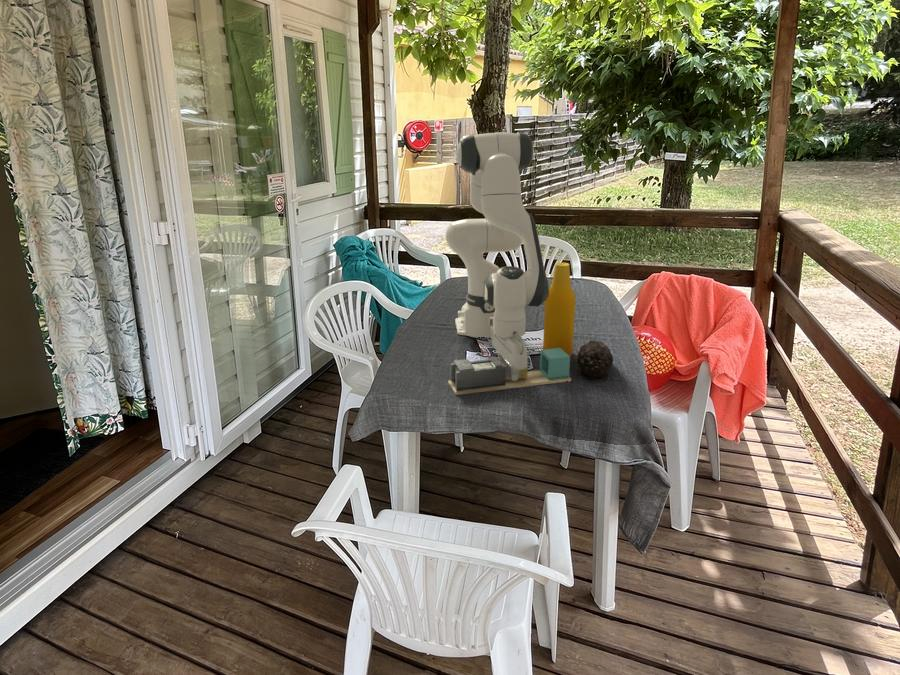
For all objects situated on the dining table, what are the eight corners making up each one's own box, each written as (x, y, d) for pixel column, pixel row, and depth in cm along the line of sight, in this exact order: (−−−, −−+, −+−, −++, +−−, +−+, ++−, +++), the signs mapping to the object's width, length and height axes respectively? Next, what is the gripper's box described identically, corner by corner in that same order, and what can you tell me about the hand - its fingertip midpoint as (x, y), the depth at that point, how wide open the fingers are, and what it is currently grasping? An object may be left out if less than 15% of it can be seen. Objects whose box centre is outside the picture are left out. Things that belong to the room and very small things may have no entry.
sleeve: (450, 381, 178) (450, 360, 176) (497, 375, 181) (497, 355, 179) (456, 391, 172) (456, 370, 170) (505, 385, 175) (505, 364, 173)
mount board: (448, 383, 179) (448, 380, 179) (559, 370, 187) (559, 367, 186) (455, 394, 172) (455, 392, 171) (571, 381, 179) (571, 378, 179)
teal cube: (539, 373, 185) (540, 349, 182) (558, 371, 186) (559, 347, 183) (549, 382, 178) (550, 358, 176) (568, 380, 180) (570, 356, 177)
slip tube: (454, 379, 177) (454, 365, 175) (522, 371, 181) (522, 358, 180) (458, 385, 173) (458, 371, 172) (527, 377, 178) (527, 363, 176)
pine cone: (607, 360, 194) (609, 329, 190) (613, 384, 177) (616, 351, 174) (572, 358, 195) (574, 328, 192) (576, 382, 179) (578, 349, 175)
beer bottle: (545, 360, 194) (549, 268, 184) (540, 349, 203) (544, 260, 193) (575, 359, 194) (581, 267, 184) (569, 348, 203) (574, 260, 193)
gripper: (534, 338, 164) (532, 386, 169) (508, 314, 183) (507, 358, 188) (511, 340, 163) (509, 389, 168) (487, 316, 182) (486, 360, 186)
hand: (508, 372), depth 178 cm, fingers open, 8 cm apart
